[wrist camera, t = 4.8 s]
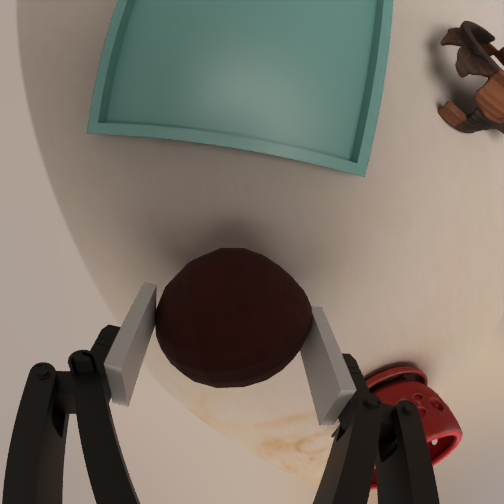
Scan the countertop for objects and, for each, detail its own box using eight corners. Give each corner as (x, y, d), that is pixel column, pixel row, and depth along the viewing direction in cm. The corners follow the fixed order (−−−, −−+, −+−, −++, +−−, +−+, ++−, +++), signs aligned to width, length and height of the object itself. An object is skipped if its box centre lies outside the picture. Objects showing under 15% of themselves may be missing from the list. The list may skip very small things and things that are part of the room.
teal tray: (158, -66, 11) (153, -77, 9) (384, -26, 13) (394, -35, 12) (98, 132, 18) (87, 133, 16) (353, 173, 21) (364, 177, 19)
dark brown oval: (303, 319, 21) (328, 399, 14) (183, 339, 22) (168, 419, 14) (290, 217, 18) (324, 275, 11) (149, 244, 18) (105, 311, 11)
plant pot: (394, 340, 28) (445, 423, 17) (435, 375, 31) (474, 437, 20) (309, 408, 31) (329, 492, 20) (366, 429, 35) (388, 493, 24)
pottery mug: (407, 101, 19) (456, 39, 11) (419, 50, 20) (454, 0, 12) (502, 179, 19) (561, 149, 10) (502, 117, 20) (545, 84, 12)
